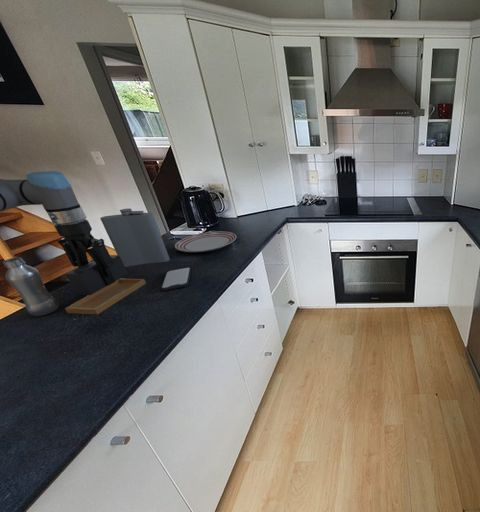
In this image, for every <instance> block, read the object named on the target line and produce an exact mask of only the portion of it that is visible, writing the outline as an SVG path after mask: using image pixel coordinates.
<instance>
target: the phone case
mask: <svg viewBox="0 0 480 512" xmlns="http://www.w3.org/2000/svg"><path fill="white" fill-rule="evenodd" d="M191 275H192V268H191V267H184V268H177V269H172V270H169V271H167V272H166V273H165V276H164V279H163V280H162V284H161V288H160V289H161V291H163V292H168V291H172V290H177V289H181V288H182V289H183V288H186V287H188V286H190V280H191Z"/></svg>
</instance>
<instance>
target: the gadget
mask: <svg viewBox="0 0 480 512" xmlns="http://www.w3.org/2000/svg"><path fill="white" fill-rule="evenodd" d="M109 255H110V257H111V259H112V261H113V263H114V264H113V265H111V266H109V268H110V270H111V272H112V276H113V278H114V280H115V281H116V280H118V279H120V278H124V277H125V276H127V275H128V274H129V273H128V270H127V269H126V267H124V264H123V262H122V260H121V258H120V256H119V255H117V254H109ZM102 265H103V264H102ZM98 269H99V267H98V265H97V264H96V263H95V262H94V260H92V261H90V262H89V263H88V264H86V265H84V266H81V267H77V268H75V269H73V270H71V271H68V272H66V273H65V274H64V276H65V277H66V278H67V280H68V282H69V283H70V285H71V287H72V288H73V290H74V292H75V294H76V295H84V296H88V295H92V294H94V293H95V292H97V291H99V290H101V289H102V288H104V287H106V284H105V282H104V280H103V278H102V276H101V274H100V272H99V271H98Z"/></svg>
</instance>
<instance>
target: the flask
mask: <svg viewBox="0 0 480 512" xmlns="http://www.w3.org/2000/svg"><path fill="white" fill-rule="evenodd" d="M119 212H120V213H119V214H111V215H105V216H101V217H99V219H100V221H101V223H102V225H103V227H104V230H105V232H106V234H107V236H108V238H109V241H110V243H111V244H112V247H113V249H114V251H115V253H116V255H119V256H120V258H121V260H122V262H123V264H124V267H125V268H128V267H134V266H139V265H147V264H156V263H166V262H169V261H170V260H171V258H170V255H169V253H168V251H167V250H168V249H167V247H166V245H165V242H164V240H163V237H162V234H161V232H160V229H159V226H158V224H157V222H156V219H155V216H154V213H153V212H145V211H144V210H132V208H129V207H128V208H122V209H119Z"/></svg>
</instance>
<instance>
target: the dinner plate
mask: <svg viewBox="0 0 480 512" xmlns="http://www.w3.org/2000/svg"><path fill="white" fill-rule="evenodd" d="M237 237H238V236H237V234H235V232H231V231H207V232H201V233H195V234H193V235H189V236H186V237H184V238H182V239H179V241H177V242H175V244H174V248H175V249H176V250H178V251H180V252H184V253H207V252H213V251H216V250H220V249H222V248H224V247H226V246H228V245H231V244H232V243H233V242H234V241H236V240H237Z"/></svg>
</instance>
